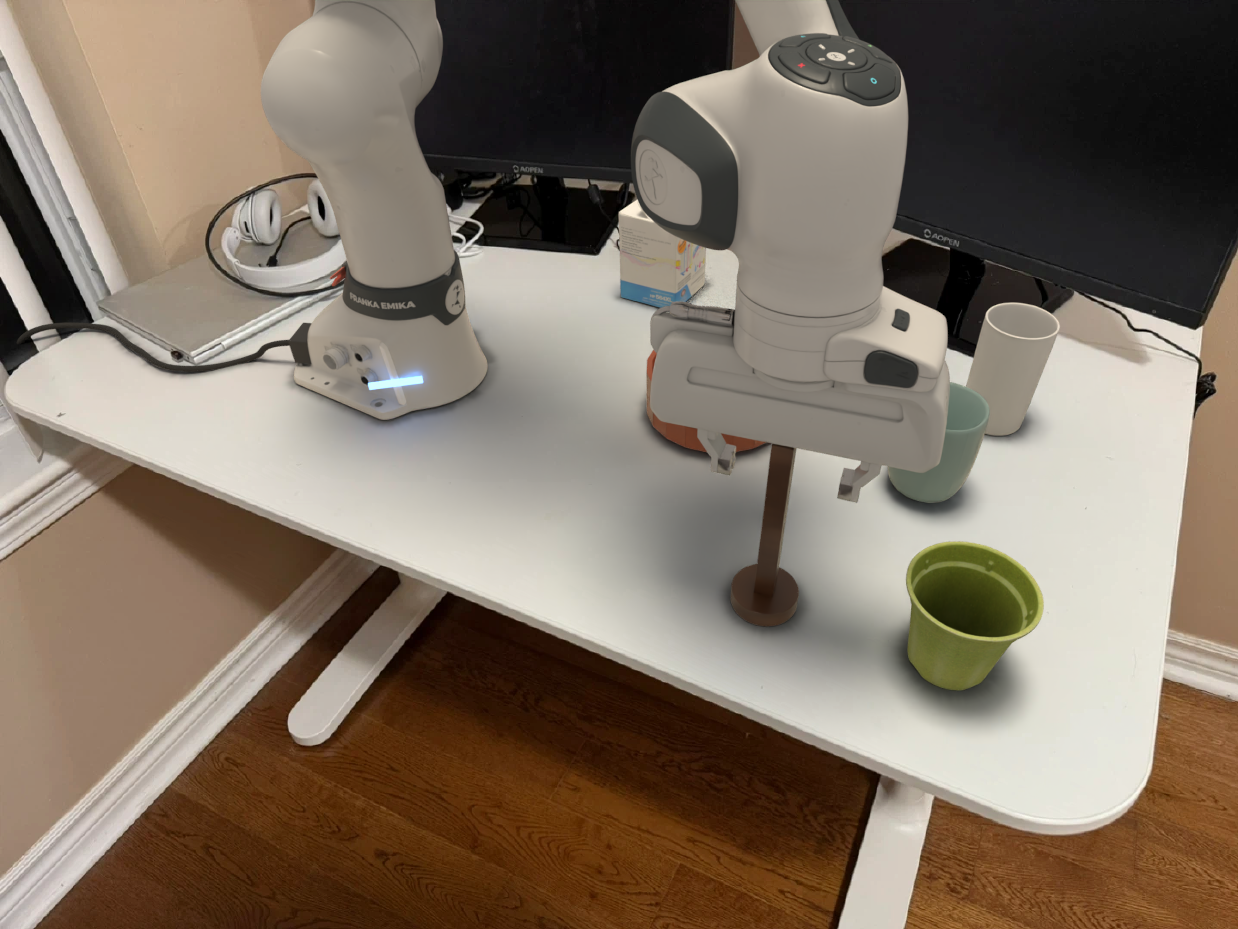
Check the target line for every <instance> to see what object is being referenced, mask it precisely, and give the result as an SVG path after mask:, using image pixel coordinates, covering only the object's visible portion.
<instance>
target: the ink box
mask: <svg viewBox="0 0 1238 929" xmlns="http://www.w3.org/2000/svg"><path fill="white" fill-rule="evenodd" d="M618 238H619V240H618V242H619V278H620V279H619V283H620V297H621V298H622V299H626V300H630V301H634V302H637V303H642V304H646V305H649V306H651V307H656V308H661V307H664V306H671V303H672V302H676V301H682V302H687V301H689V300H690V298H692V297H693V296H694V295H695V294H696V293H697V292H698V291H699V290H700V289H701V288H702V287H703V286H704V285H705V284H706V264H707V263H706V262H707V260H706V259H707V258H706V257H707V248H704V247H701V246H698V245H695V244H693V243H690V242H688V241H685V240H683V239H680V238H678V237H676V236H674V235H672V234H670V233H669V232H667V231H665V230H664V229H662V228H661V227H660V226H658V225H657V224H656V223H655V222H654V221H653V220H652V219H651V218H650V217H648V216H647V215H646V214H645V212H644V211H643V210H642V208H641V206H640V204H639V202H638V199H637V198H636V200H634V201H633V202H632V203H630V204H628V205H627V206H626V207H624V208H623V209H621V210H620V211H618Z"/></svg>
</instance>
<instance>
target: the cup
mask: <svg viewBox="0 0 1238 929" xmlns="http://www.w3.org/2000/svg"><path fill="white" fill-rule="evenodd" d="M989 417H990V408H989V406H988V403H987V401H986V400H985V399H984V398H983V397H982V396H981V395H980V394H979V393H977V392H976V391H974V390H972V389H970V388H968V387H966V385H962V384H960V383H956V382H952V381H950V393H949V405H948V415H947V424H946V431H945V437H944V443H943V449H942V454H941V459H940V463H939V464H938V465H937V466H935V467H934V468H932V469H930V470H929V471H927V472H924V473H918V472H913V471H908V470H903V469H898V468H893V467H888V466H887V473H888V477H889V480H890V482H891V485H892V486H893V487H894V488H895V489H896V490H897V491H898V493H900V494H901V495H903V496H904V497H906V498H908V499H910V500H913V501H916V502H920V503H927V504H936V503H941V502H944V501H947V500H949V499H951V498H952V497H953V496H955V495H956V494H957V493H958V492H959V491H960V490H961V489H962V487H963V486H964V484H965V483H966V481H967V479H968V477H969V476H970V474H971V472H972V470H973V467H974V465H975V463H976V460H977V457H978V454H979V453H980V449H981V447H982V444H983V441H984V438H985V435H986V434H985V432H986V428H987V425H988V421H989Z"/></svg>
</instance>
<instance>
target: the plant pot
mask: <svg viewBox="0 0 1238 929" xmlns="http://www.w3.org/2000/svg"><path fill="white" fill-rule="evenodd" d="M1033 576H1034V575H1032V574H1031V573H1030V571H1028V570H1027V569H1026V568H1025V566H1024V565H1022V564H1021V563H1020V562H1019V561H1017V560H1016V559H1014V558H1013V557H1011V556H1010V555H1008V554H1006V553H1004V552H1003V551H1000V550H998V549H995V548H993V547H991V546H988V545H985V544H981V543H975V542H970V541H961V540H958V541H957V540H955V541H942V542H938V543H935V544H931V545H929V546H926V547H925V548H924V549H922V550H921V551H919V552H918V553H916V554H915V555H914V556H913V557H912V558H911V560H910V561H909V564H908V566H907V568H906V575H905V585H906V590H907V594H908V597H909V600H910V614H909V615H910V616H909V628H908V636H907V637H908V638H907V647H906V648H907V658H908V660H909V662H910V663H911V664H912V666H913V667H914V668H915V669H916V671H917V672H918V674H919V675H920V676H921V677H922V678H923V679H924V680H925V681H926V682H928V683H930V684H932V685H934V686H936V687H938V688H941V689H944V690H950V691H965V690H967V689H970V688H972V687H975V686H977V685H979V684H981V683H982V682H983V681H984V680H985V679H986V677H987V676H988V675H989V674H990V672H991V671H992V670H993V668H995V666H996V664H997V663H998V662H999V661H1000V660H1001V658H1002V657H1003V655H1004V654H1005V652H1006V651H1007V650H1008V649H1009V648H1010V646H1011V645H1012V644H1013V643H1015V642H1016V641H1018V640H1020V639H1022V638H1025V637H1026V636H1028V635H1029V634H1031V633H1032V632H1033V631H1034V630H1035V629H1036V628H1037V626H1038V625H1039V624H1040V622H1041V620H1042V617H1043V614H1044V607H1045V601H1044V596H1043V593H1042V589H1041V588H1040V585H1039V584H1038V582H1037V580H1036V579H1035V578H1034V577H1033Z"/></svg>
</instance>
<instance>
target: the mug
mask: <svg viewBox="0 0 1238 929" xmlns="http://www.w3.org/2000/svg"><path fill="white" fill-rule="evenodd" d="M1060 324H1061V323H1060V322H1059V320H1058V318H1057V317H1056V316H1054V315H1053V313H1051V312H1049V311H1047V310H1046V309H1043V308H1042V307H1039V306H1036V305H1035V304H1034V305H1033V304H1028V303H1023V302H1003V303H998V304H996V305H993V306H990V308H988V310H987V311H986V312H985V316H984V319H983V322H982V325H981V329H980V332H979V336H978V340H977V343H976V348H975V351H974V355H973V359H972V362H971V367H970V369H969V373H968V377H967V381H966V384H965V387H968V388H970V389H972V390H974V391H976V392H977V393H979V394H980V395H981V396H982V397H983V398H984V399H985V400H986V401H987V403H988V406H989V408H990V417H989V421H988V425H987V428H986V432H985V435H988V436H996V437H997V436H999V437H1002V436H1008V435H1012V434H1014V433H1016V432H1017V431H1018V430H1019V429H1020V428H1021V427H1022V424H1023V422H1024V420H1025V417H1026V415H1027V412H1028V410H1029V408H1030V405H1031V403H1032V400H1033V397H1034V395H1035V393H1036V390H1037V388H1038V385H1039V383H1040V380H1041V377H1042V375H1043V373H1044V370H1045V367H1046V365H1047V363H1048V360H1049V358H1050V355H1051V354H1052V350H1053V348H1054V345H1055V342H1056V339H1057V337H1058V334H1059V332H1060V330H1061V329H1060V328H1061V325H1060Z"/></svg>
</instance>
